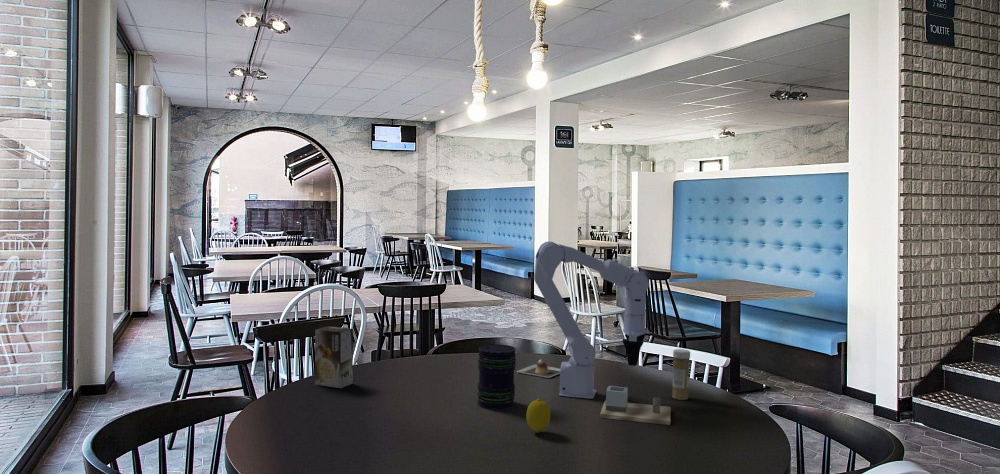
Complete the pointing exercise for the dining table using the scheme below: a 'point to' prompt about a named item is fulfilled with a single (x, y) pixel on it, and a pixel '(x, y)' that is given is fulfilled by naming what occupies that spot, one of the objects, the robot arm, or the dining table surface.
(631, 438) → the dining table surface
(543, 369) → the dessert
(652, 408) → the pin board
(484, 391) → the storage jar
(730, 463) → the dining table surface
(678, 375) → the sprinkles bottle
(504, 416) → the dining table surface
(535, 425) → the lemon
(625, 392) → the sleeve
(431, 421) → the dining table surface
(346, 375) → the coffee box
